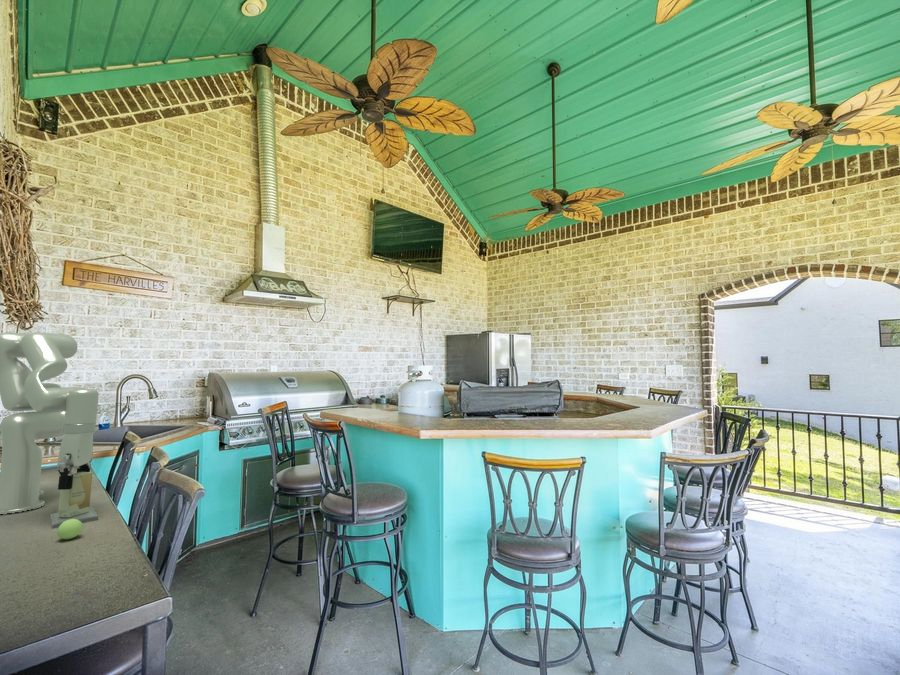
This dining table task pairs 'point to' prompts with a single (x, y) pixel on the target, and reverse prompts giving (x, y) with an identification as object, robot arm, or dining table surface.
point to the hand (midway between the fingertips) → (74, 484)
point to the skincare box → (76, 496)
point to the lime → (69, 529)
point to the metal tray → (83, 517)
